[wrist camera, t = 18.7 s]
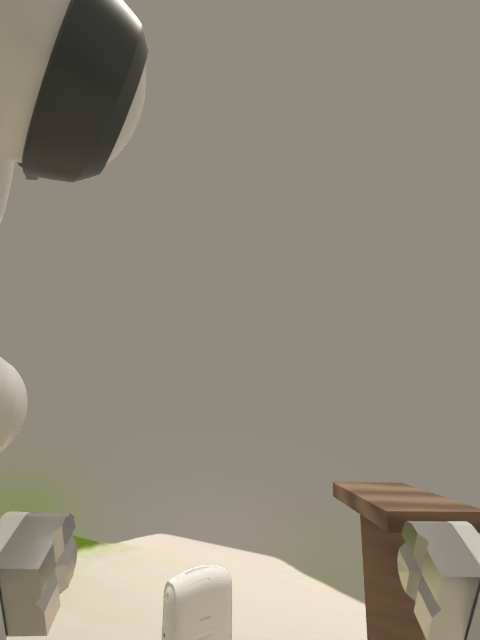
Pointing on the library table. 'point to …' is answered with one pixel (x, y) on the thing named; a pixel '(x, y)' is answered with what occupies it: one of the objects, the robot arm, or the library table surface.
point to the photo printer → (198, 605)
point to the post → (393, 548)
